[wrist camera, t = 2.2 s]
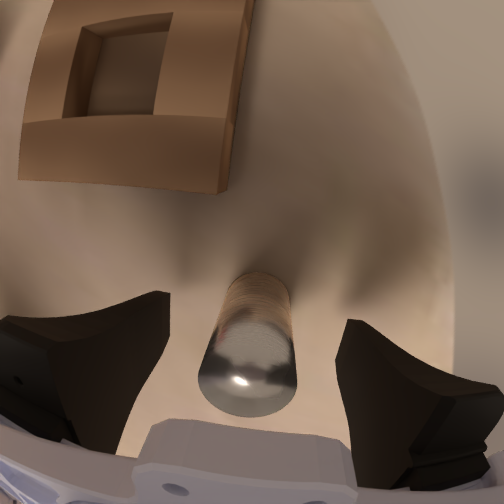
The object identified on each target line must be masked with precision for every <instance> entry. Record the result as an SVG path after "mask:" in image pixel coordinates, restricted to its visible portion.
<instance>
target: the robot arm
mask: <svg viewBox="0 0 504 504" xmlns="http://www.w3.org/2000/svg"><path fill="white" fill-rule="evenodd" d="M169 337H170V293H167V292H162V291H157V290H156V291H152V292H149V293H146V294H144V295H141V296H138V297H136V298H133V299H131V300H128V301H125V302H123V303H120V304H117V305H114V306H111V307H108V308H105V309H102V310H98V311H94V312H90V313H85V314H80V315H73V316H65V317H53V318H30V317H18V316H9V315H8V316H6V317H4V318H3V319H1V320H0V504H22V503H23V504H504V450H502V451H500V452H497V453H494V454H492V455H491V456H489V457H488V458H487V459H486V457H485V455H484V453H483V452H485V451H486V450H487V445H486V444H485V442H484V440H485V439H486V438H487V436H488V435H489V434H490V432H491V431H492V430H493V428H494V427H495V426H496V424H497V423H498V421H499V420H500V418H501V416H502V415H503V412H504V395H503V393H502V392H501V391H500V390H499V388H498V387H497V386H495V385H491V384H486V383H481V382H476V381H471V380H467V379H464V378H461V377H457V376H455V375H452V374H449V373H446V372H444V371H442V370H439V369H437V368H435V367H432V366H430V365H428V364H426V363H425V362H423V361H421V360H419V359H417V358H415V357H414V356H412V355H410V354H409V353H407V352H406V351H404V350H403V349H401V348H400V347H398V346H397V345H396V344H394V343H393V342H392V341H390V340H389V339H388V338H386V337H385V336H384V335H382V334H381V333H380V332H378V331H377V330H376V329H374V328H373V327H372V326H370V325H369V324H367V323H366V322H364V321H362V320H354V319H348V320H347V323H346V327H345V330H344V333H343V337H342V340H341V343H340V346H339V350H338V353H337V356H336V359H335V363H336V374H337V381H338V385H339V389H340V393H341V397H342V400H343V404H344V408H345V412H346V416H347V420H348V425H349V431H350V441H351V451H350V450H349V449H348V448H347V447H346V446H345V445H344V444H343V443H342V442H341V441H340V440H337V439H332V438H327V437H323V436H318V435H312V434H295V433H283V432H272V431H263V430H254V429H247V428H240V427H233V426H227V425H221V424H215V423H210V422H204V421H199V420H187V419H167V420H165V421H162V422H160V423H157V424H155V425H152V427H151V429H150V431H149V434H148V436H147V438H146V440H145V443H144V445H143V447H142V449H141V452H140V454H139V456H138V458H133V457H125V456H119V455H115V454H116V450H117V447H118V444H119V441H120V438H121V435H122V433H123V430H124V427H125V425H126V422H127V419H128V417H129V414H130V412H131V410H132V407H133V405H134V403H135V400H136V398H137V396H138V394H139V392H140V390H141V389H142V387H143V385H144V384H145V382H146V380H147V379H148V377H149V375H150V374H151V372H152V371H153V369H154V367H155V366H156V364H157V362H158V361H159V359H160V357H161V355H162V354H163V351H164V349H165V347H166V344H167V342H168V339H169ZM351 454H352V456H351Z"/></svg>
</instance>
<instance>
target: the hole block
mask: <svg viewBox="0 0 504 504" xmlns="http://www.w3.org/2000/svg"><path fill="white" fill-rule="evenodd" d="M254 3H255V0H54V2H53V5H52V7H51V10H50V13H49V15H48V18H47V21H46V24H45V27H44V30H43V33H42V36H41V40H40V43H39V46H38V50H37V53H36V57H35V61H34V65H33V69H32V74H31V78H30V83H29V88H28V93H27V98H26V104H25V110H24V117H23V124H22V132H21V141H20V153H19V168H18V180H33V181H58V182H78V183H94V184H109V185H122V186H134V187H146V188H156V189H167V190H177V191H186V192H195V193H204V194H212V195H217V194H219V193H221V192H224V191H226V190H227V185H228V177H229V169H230V161H231V153H232V146H233V138H234V131H235V124H236V116H237V109H238V102H239V96H240V89H241V82H242V76H243V69H244V63H245V56H246V50H247V44H248V38H249V32H250V26H251V20H252V14H253V9H254Z"/></svg>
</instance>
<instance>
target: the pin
mask: <svg viewBox="0 0 504 504" xmlns="http://www.w3.org/2000/svg"><path fill="white" fill-rule="evenodd" d="M198 383H199V387H200V389H201V391H202V393H203V395H204V396H205V398H206V399H207V400H208V401H209V402H210V403H211V404H212V405H214V406H215V407H217V408H218V409H220V410H222V411H224V412H226V413H229V414H232V415H235V416H240V417H261V416H266V415H270V414H272V413H275V412H277V411H279V410H281V409H282V408H284V407H285V406H286V405H287V404H288V403H289V402H290V401H291V400H292V398H293V397H294V395H295V392H296V389H297V374H296V363H295V352H294V341H293V331H292V321H291V311H290V302H289V295H288V292H287V290H286V288H285V286H284V285H283V284H282V283H281V282H280V281H279V280H278V279H277V278H275V277H273V276H271V275H269V274H266V273H259V272H254V273H248V274H245V275H243V276H241V277H239V278H237V279H236V280H235V281H234V282H233V283H232V284H231V286H230V287H229V289H228V292H227V294H226V297H225V300H224V303H223V305H222V308H221V311H220V314H219V316H218V319H217V322H216V325H215V327H214V330H213V333H212V336H211V338H210V341H209V344H208V347H207V350H206V352H205V355H204V358H203V361H202V364H201V366H200V369H199V373H198Z"/></svg>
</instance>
